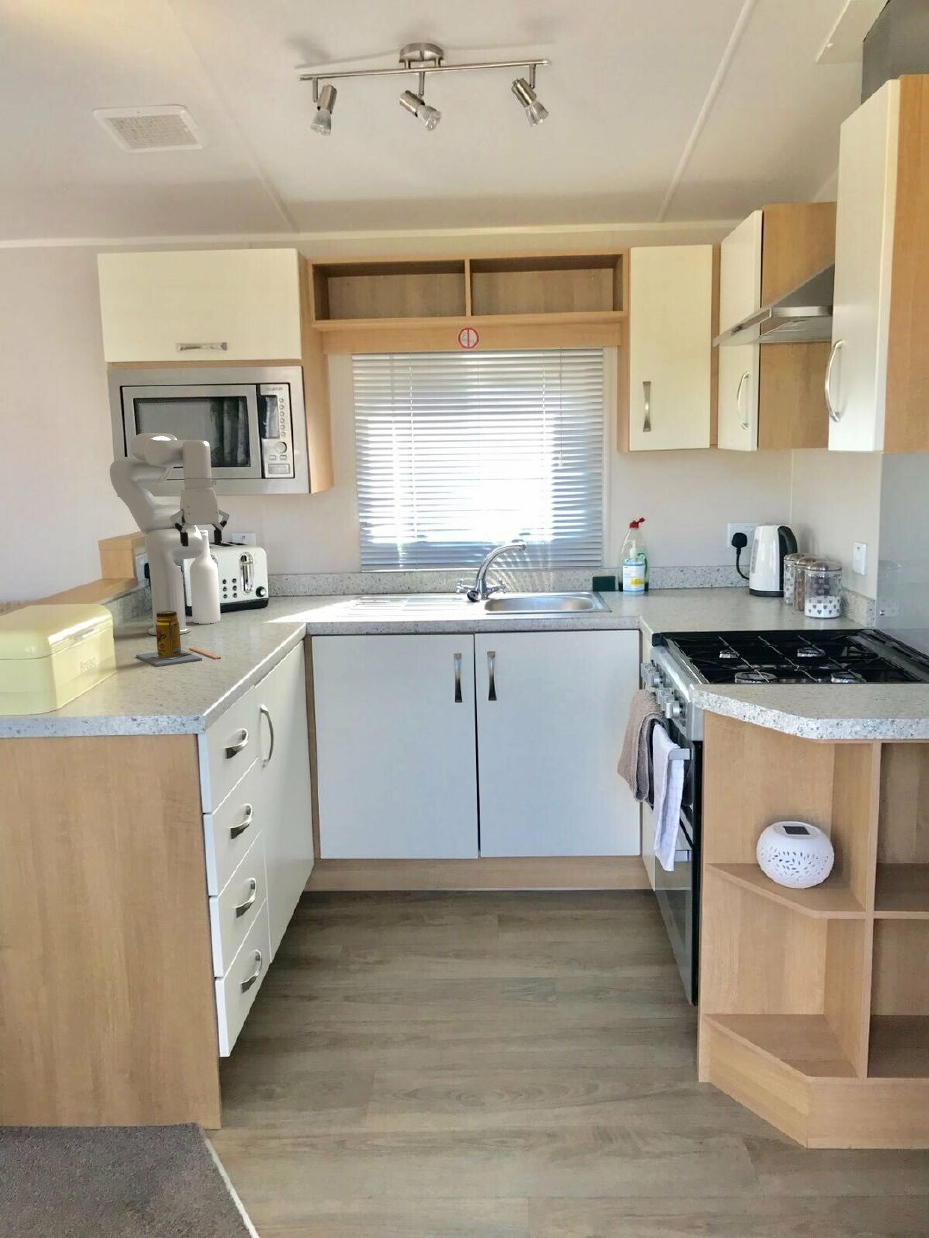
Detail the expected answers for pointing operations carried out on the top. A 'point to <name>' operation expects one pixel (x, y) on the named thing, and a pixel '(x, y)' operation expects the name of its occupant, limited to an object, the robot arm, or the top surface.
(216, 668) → the top surface
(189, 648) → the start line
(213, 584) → the alcohol
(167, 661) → the mat
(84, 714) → the top surface
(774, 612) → the top surface
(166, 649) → the condiment
